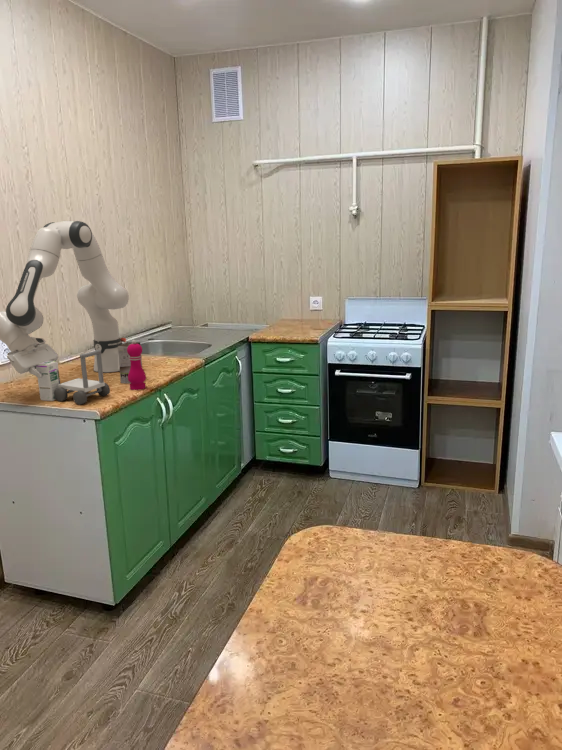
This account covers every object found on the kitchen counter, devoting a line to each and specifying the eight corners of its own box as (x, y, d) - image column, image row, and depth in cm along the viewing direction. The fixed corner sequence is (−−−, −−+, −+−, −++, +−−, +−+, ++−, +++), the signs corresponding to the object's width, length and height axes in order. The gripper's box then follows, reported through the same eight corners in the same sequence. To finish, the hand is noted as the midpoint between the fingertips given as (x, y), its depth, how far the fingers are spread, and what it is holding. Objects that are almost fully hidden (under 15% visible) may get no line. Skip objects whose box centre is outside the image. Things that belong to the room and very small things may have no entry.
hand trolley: (82, 391, 234) (77, 345, 230) (110, 395, 228) (106, 348, 223) (54, 400, 222) (49, 352, 218) (83, 405, 216) (78, 356, 211)
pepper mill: (131, 385, 241) (127, 338, 236) (148, 385, 241) (145, 338, 236) (126, 390, 234) (122, 341, 229) (144, 390, 234) (140, 341, 229)
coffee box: (134, 383, 244) (131, 346, 240) (120, 383, 245) (116, 345, 241) (143, 378, 253) (140, 341, 249) (130, 377, 254) (126, 341, 250)
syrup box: (52, 401, 222) (48, 364, 218) (39, 400, 223) (35, 363, 220) (62, 397, 227) (58, 360, 223) (49, 396, 229) (45, 360, 225)
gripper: (8, 348, 212) (34, 375, 211) (46, 337, 231) (69, 362, 230) (0, 359, 214) (25, 386, 214) (38, 348, 233) (61, 373, 233)
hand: (48, 374), depth 222 cm, fingers open, 7 cm apart
